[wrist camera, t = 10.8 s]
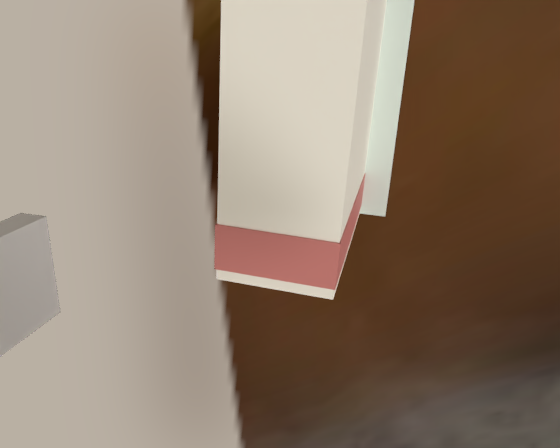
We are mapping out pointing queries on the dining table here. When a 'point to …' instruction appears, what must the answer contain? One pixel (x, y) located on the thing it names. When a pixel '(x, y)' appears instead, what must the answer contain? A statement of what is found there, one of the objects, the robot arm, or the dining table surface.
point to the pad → (386, 106)
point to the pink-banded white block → (293, 138)
